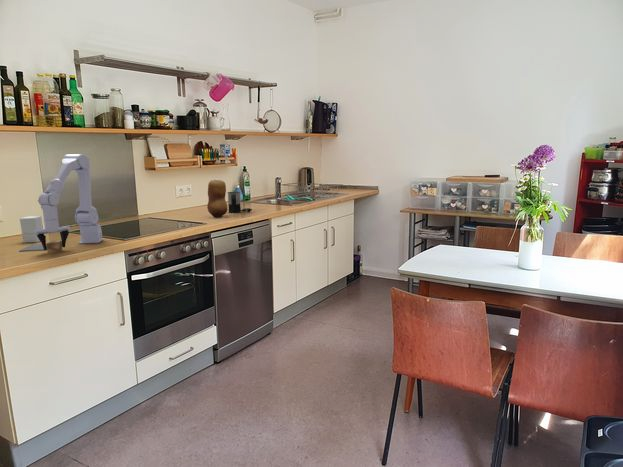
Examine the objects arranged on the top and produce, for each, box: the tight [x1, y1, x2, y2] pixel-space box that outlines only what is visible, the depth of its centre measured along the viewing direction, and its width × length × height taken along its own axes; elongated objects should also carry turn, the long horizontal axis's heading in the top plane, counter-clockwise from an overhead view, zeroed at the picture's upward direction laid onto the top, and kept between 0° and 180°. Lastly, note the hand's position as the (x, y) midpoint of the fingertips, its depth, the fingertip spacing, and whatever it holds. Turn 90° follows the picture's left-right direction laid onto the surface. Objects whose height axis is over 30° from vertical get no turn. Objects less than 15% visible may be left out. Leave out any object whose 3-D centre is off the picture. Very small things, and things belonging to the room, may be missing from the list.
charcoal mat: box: [18, 242, 62, 253], centre depth 220 cm, size 14×14×1 cm
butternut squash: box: [206, 179, 229, 219], centre depth 306 cm, size 14×13×25 cm
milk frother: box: [226, 191, 253, 214], centre depth 329 cm, size 14×16×15 cm
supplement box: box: [19, 215, 44, 244], centre depth 235 cm, size 7×7×13 cm
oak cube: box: [46, 240, 63, 254], centre depth 210 cm, size 5×5×5 cm
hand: (54, 248), depth 210 cm, fingers open, 7 cm apart
